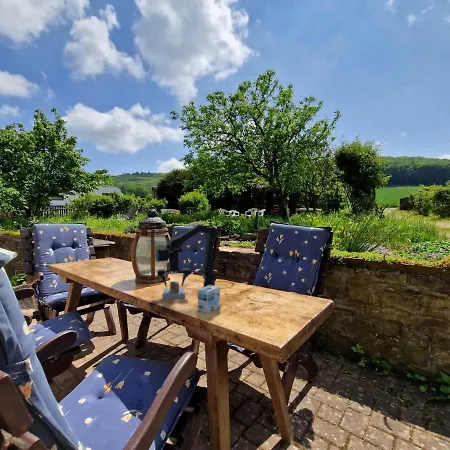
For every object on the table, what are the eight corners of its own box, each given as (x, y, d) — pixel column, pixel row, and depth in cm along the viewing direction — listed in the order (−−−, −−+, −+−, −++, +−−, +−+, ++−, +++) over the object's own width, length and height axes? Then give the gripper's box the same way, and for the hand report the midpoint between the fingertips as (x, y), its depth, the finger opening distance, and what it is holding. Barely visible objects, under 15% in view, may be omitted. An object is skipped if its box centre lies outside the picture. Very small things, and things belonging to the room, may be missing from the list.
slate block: (183, 292, 160) (184, 287, 159) (185, 299, 148) (185, 293, 148) (163, 293, 157) (163, 288, 157) (163, 300, 145) (163, 294, 145)
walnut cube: (178, 289, 155) (178, 281, 155) (178, 292, 150) (178, 283, 150) (170, 290, 154) (170, 281, 154) (170, 292, 149) (170, 284, 149)
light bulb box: (208, 313, 125) (208, 291, 125) (197, 310, 129) (197, 289, 128) (220, 307, 134) (220, 286, 134) (209, 304, 138) (209, 284, 137)
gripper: (189, 257, 161) (189, 282, 162) (158, 258, 158) (158, 283, 158) (190, 260, 150) (190, 287, 151) (157, 261, 147) (157, 289, 147)
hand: (174, 286), depth 152 cm, fingers open, 9 cm apart
